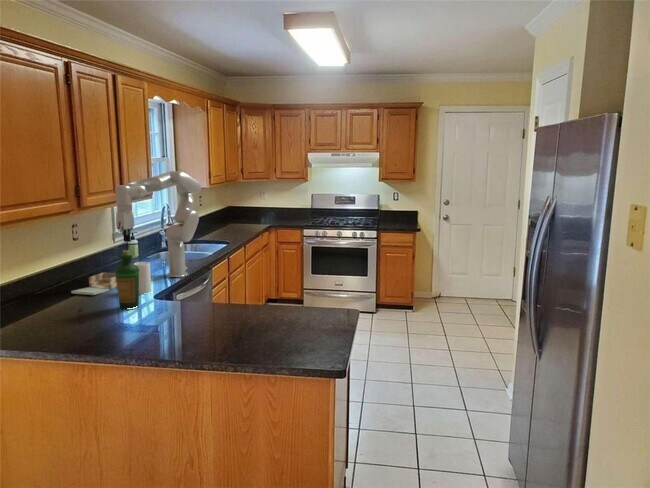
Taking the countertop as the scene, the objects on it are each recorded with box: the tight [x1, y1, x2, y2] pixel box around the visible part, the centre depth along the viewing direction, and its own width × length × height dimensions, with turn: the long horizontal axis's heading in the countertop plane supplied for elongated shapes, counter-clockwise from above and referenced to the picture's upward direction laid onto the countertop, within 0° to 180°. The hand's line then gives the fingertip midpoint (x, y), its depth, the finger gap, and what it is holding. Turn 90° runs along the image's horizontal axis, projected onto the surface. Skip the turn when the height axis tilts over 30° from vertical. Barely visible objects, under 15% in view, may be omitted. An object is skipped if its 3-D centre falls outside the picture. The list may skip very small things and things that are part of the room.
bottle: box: [114, 249, 140, 310], centre depth 219 cm, size 11×11×28 cm
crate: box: [88, 272, 117, 290], centre depth 256 cm, size 12×13×6 cm
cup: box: [133, 261, 152, 295], centre depth 246 cm, size 8×8×16 cm
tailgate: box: [70, 286, 111, 296], centre depth 243 cm, size 1×13×14 cm
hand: (127, 241), depth 252 cm, fingers closed
